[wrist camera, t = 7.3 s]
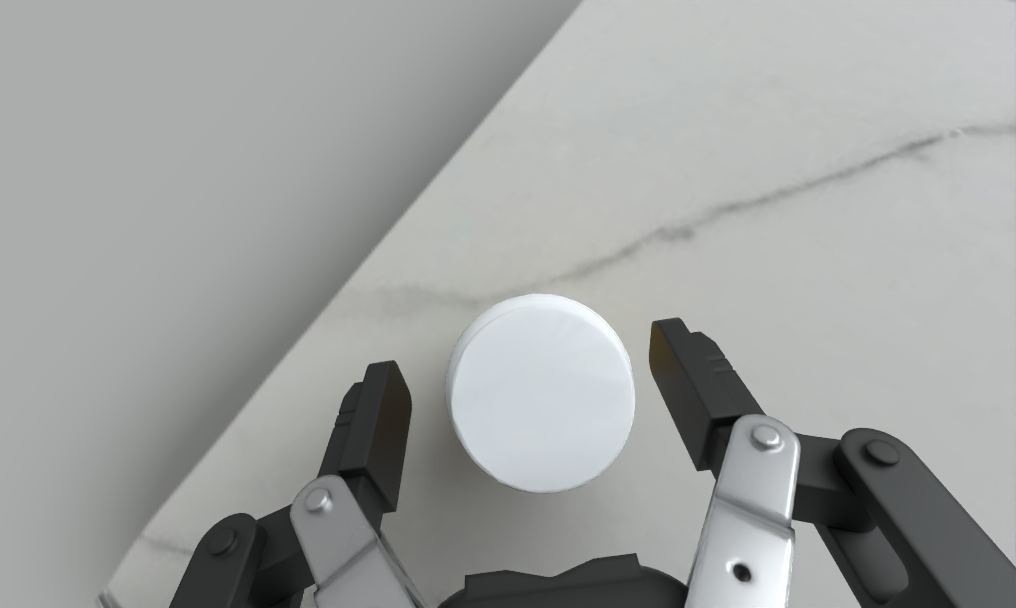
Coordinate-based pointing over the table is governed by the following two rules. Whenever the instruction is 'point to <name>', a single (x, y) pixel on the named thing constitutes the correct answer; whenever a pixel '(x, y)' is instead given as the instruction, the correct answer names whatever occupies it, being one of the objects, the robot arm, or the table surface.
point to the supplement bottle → (540, 393)
